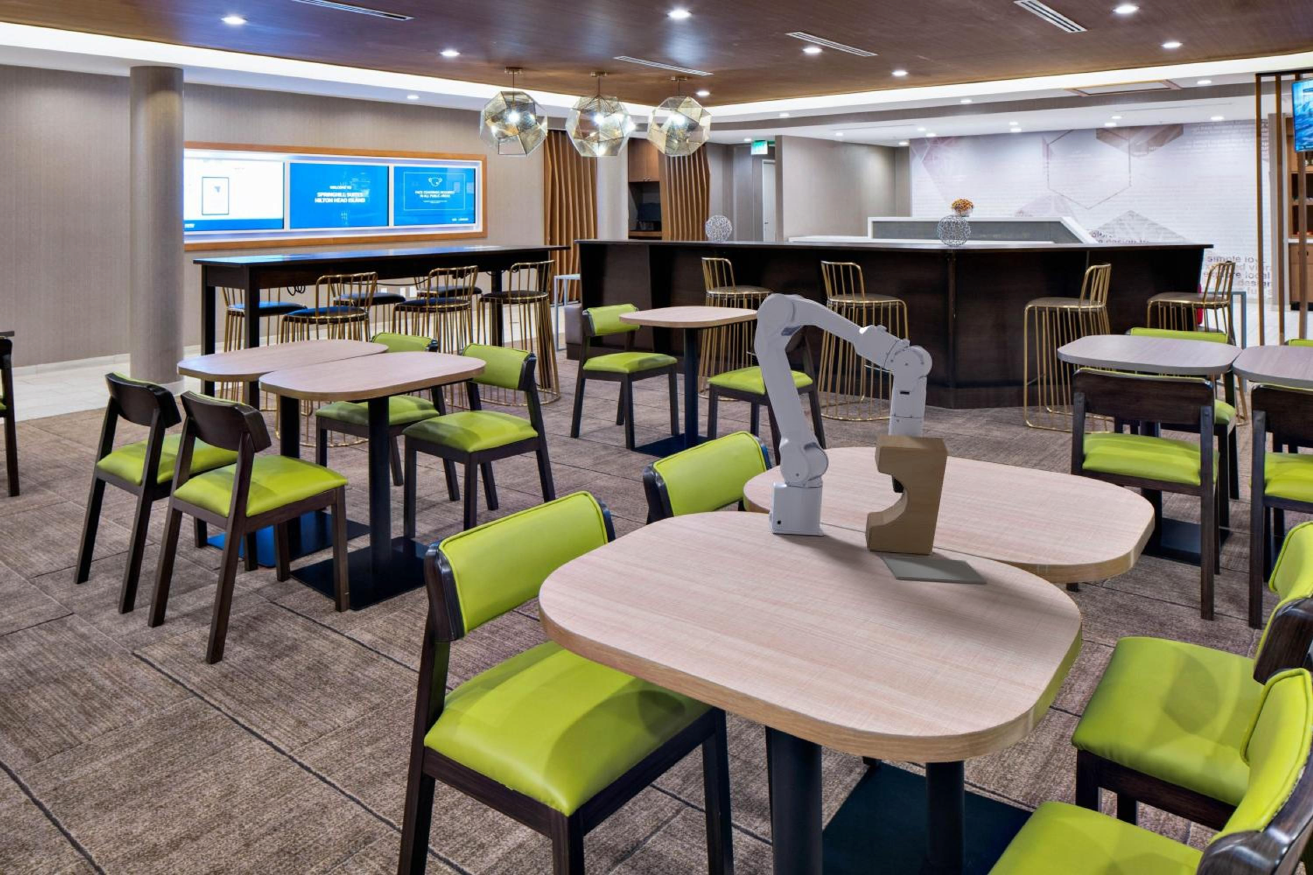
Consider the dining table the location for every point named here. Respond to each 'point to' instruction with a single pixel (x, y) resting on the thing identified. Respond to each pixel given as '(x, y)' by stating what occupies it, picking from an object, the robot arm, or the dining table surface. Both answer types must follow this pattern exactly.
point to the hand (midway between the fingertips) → (900, 492)
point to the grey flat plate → (933, 570)
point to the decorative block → (908, 494)
